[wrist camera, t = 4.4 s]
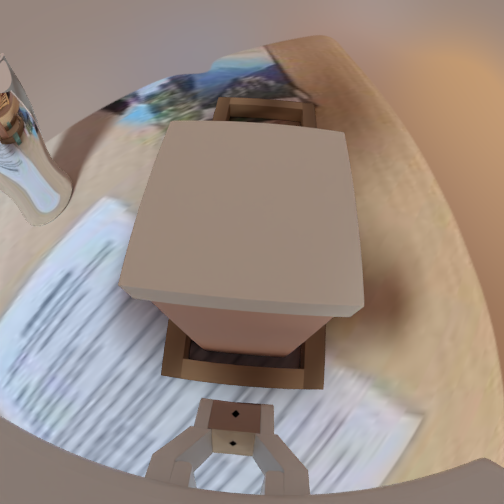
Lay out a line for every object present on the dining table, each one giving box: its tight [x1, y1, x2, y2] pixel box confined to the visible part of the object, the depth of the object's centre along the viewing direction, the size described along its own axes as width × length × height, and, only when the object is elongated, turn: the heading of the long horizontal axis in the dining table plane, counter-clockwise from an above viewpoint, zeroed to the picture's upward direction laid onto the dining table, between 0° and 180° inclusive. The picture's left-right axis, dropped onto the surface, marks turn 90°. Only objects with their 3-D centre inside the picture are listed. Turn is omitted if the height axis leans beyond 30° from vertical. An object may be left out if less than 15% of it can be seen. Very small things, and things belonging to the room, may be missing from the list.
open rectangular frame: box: [161, 97, 326, 389], centre depth 22 cm, size 13×25×2 cm, turn 175°
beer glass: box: [0, 53, 73, 226], centre depth 16 cm, size 7×7×15 cm
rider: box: [118, 121, 364, 357], centre depth 13 cm, size 5×5×13 cm
